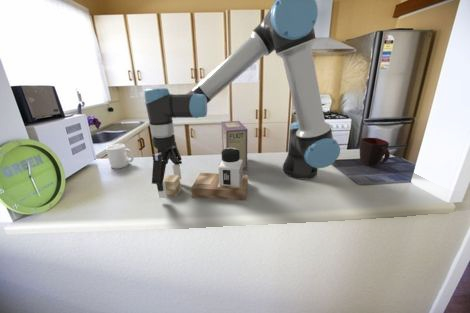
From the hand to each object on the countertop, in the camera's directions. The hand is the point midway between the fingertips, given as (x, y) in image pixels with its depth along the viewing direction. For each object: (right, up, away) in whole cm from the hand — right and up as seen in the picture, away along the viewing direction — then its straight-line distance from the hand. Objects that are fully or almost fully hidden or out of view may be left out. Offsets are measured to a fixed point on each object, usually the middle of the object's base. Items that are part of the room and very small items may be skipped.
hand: (171, 187), depth 78 cm
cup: (-32, +7, +24) cm, 41 cm away
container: (+23, +2, -1) cm, 24 cm away
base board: (+19, -1, +1) cm, 20 cm away
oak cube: (0, -2, +1) cm, 2 cm away
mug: (+90, +7, +18) cm, 93 cm away
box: (+24, +8, +23) cm, 34 cm away
